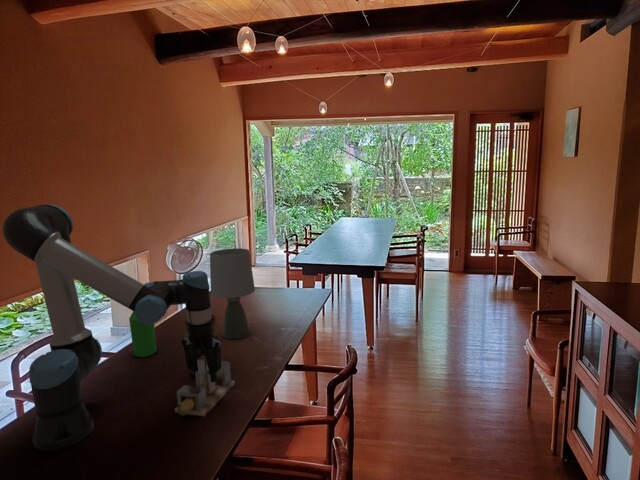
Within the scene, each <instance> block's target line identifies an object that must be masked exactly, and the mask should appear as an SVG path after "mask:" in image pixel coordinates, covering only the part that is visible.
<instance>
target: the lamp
mask: <svg viewBox="0 0 640 480" xmlns="http://www.w3.org/2000/svg"><path fill="white" fill-rule="evenodd" d="M252 268H253V267H252V262H251V254H250V250H249V249H247V248H241V247H240V248H239V247H238V248H237V247H236V248H235V247H234V248H224V249H219V250H214V251H211V252H210V253H209V270H210V271H209V273H210V274H209V276H210V296H212V297H214V298H217V299H226V302H227V304H226V309H225V312H224V317H223V318H224V320H223V333H222V334H223V338H225V339H227V340H241V339H244V338H246V337H248V336H249V335H250V328H249V323H248V319H247V315H246V312H245V309H244V307H243V305H242V303H241V302H240V301H241V299H242V298H241V297H246V296H248V295H251V294H253V293H254V292H255V291H256V288H255V282H254V275H253V269H252Z"/></svg>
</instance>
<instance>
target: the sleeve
mask: <svg viewBox="0 0 640 480" xmlns="http://www.w3.org/2000/svg"><path fill="white" fill-rule="evenodd" d="M188 396H191V397H195V402H196V412H201V411H202V410H203V409H204V408H205V407H206V406H207V401H206V390H205V388H203V387H197V386H193V385H182V386H181V387H180V388H179V389H178V390H177V391H176V397H177V398H176V399H177V406H178V405H180V404H181V403H182V402H183V401H184V400H185V399H186V398H187V397H188Z"/></svg>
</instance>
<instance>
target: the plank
mask: <svg viewBox="0 0 640 480" xmlns="http://www.w3.org/2000/svg"><path fill="white" fill-rule="evenodd" d="M235 385H236V382H235V380H231V381H230V382H229V383H228V384H227V385H226V386H222V381H218V384H217V386H216V387H215V390H214V391H213V392H212V393H210V394H209V395H206V401H207V406H206V407H205V408H204V409H203V410H202V411H201V412H196V406H195V407H194V408H193V409H192V410H191V411H190V412H189V413H188V414H187V415H191V416H199V417H205V416H206V415H207V414H209V412H210V411H211V410H212V409H213V408H214V407H215V406H216V405H217V404H218V403H219V402H220V400H222V398H223V397H224V396H225V395H226V394H227V393H229V391H230V390H231V389H232V388H233V387H234V386H235ZM177 407H178V406H177ZM177 407H175V408H174V414H175V413H176V414H179V413H178V411H177Z"/></svg>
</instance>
